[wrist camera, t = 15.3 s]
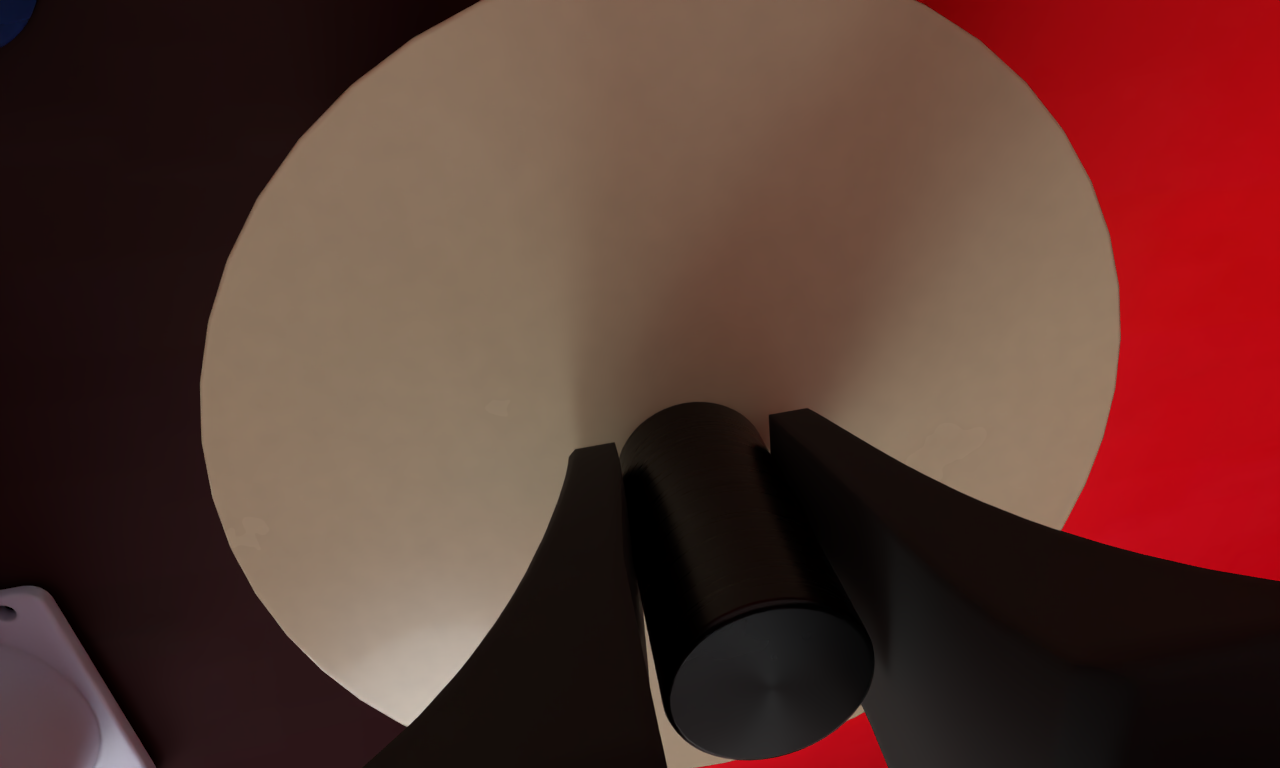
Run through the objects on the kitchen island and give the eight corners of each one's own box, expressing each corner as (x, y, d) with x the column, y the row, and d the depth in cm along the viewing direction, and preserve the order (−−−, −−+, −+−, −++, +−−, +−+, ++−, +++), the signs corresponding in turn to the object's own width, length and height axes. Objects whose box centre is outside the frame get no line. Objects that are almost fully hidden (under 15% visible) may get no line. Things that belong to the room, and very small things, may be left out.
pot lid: (370, 788, 16) (308, 1136, 11) (49, 35, 10) (-429, 86, 5) (1031, 654, 17) (1237, 921, 12) (1146, -113, 11) (1684, -195, 6)
